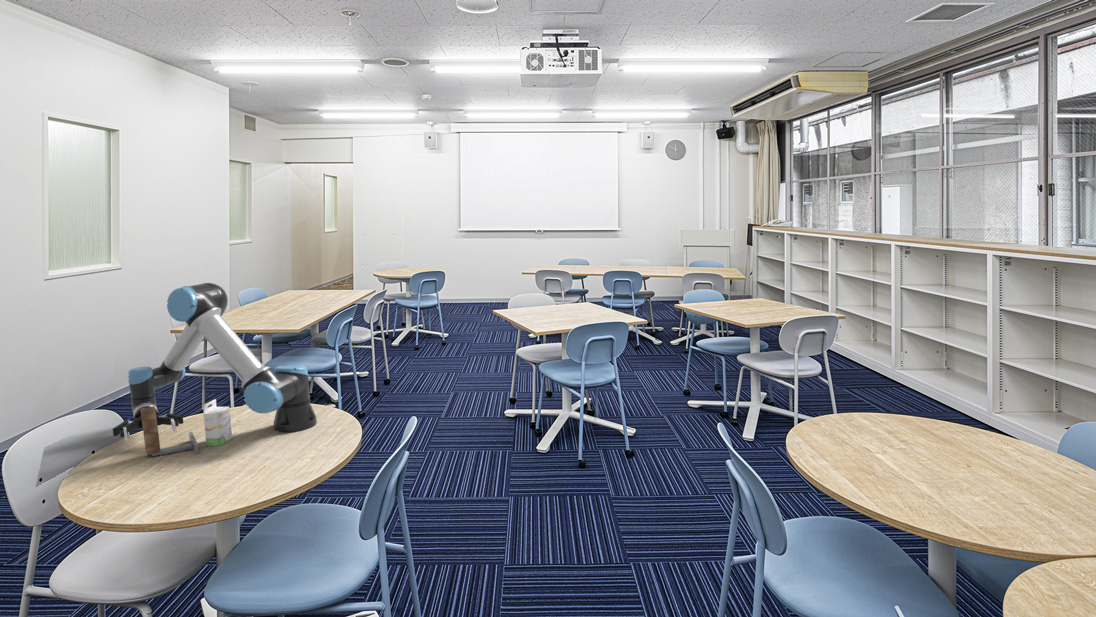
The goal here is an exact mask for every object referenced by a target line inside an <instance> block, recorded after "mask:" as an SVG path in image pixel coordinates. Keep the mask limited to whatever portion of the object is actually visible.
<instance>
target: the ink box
mask: <svg viewBox="0 0 1096 617" xmlns="http://www.w3.org/2000/svg"><path fill="white" fill-rule="evenodd" d="M230 410H231V409H230V406H217V399H216V398H215V399H213V400H211V401H209V402H207V403H205V404H203V422H204V423H203V424H204V432H205V433H204V434H205V443H206V446H207V447H218V446H219V447H220V446H221V445H224V444H225V443H226V442H228V441H230V440H231V439H232V438H233V431H232V424H231V423H232V422H231V413H230Z"/></svg>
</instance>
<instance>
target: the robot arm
mask: <svg viewBox="0 0 1096 617" xmlns="http://www.w3.org/2000/svg"><path fill="white" fill-rule="evenodd" d="M166 301H167V304H166V308H167V312H168V314H169V316H170V317H171V318H172V319H173V320H175V321H178V322H181V323H186V325H185V326H184V329H183V330H182V331H181V332H180V335H179V336H178V338H177V339H176V341H175V343H174V345H172V348H171V349H170V350H169V352H168V353H167V355H166V356H165V358H164V360H163V362H161V364H160V365H159V366H158V367H155V368H153V367H151V366H139V367H134V368H133V367H132V368H131V369H130V370H128V374H127V375H128V384H129V385H128V386H129V391H130V392H129V393H130V398H131V399H130V401H131V411H132V412H131V413H133V420H128V419H124V420H123V422H121V423H119V424H118V425H116V426H115V427H112V434H113V437H116V436H119V438H124V441H129V438H128V433H131V432H132V431H135V430H140V429H143V425H142V417H141V409H142V408H148V407H154V406H155V409H156V417H157V426H158V427H159V426H162V425H163V426H164V425H165V426H167V425H168V426H171V428H172V432H177V427H179V425H183V424H184V416H183V415H179V414H173V413H171V412H168V411H167V412H165V414H163V415H161V414H160V413H159V410H158V406H157V400H156V390H157V389H159V388H160V389H161V388H162V387H165V386H168V385H171V384H175V383H177V382H179V381H181V380H182V379H184V378H185V376H186V368H185V367H186V366H187V364H188V363H189V361H190V360H191V358H192V357H193V356H194V354H195V353H196V351H197V349H198V347H199V346H200V344H201V343H202V342H203V340H204V339H205V340H206V341H207V342H208V343H209V344H210V346H211V347H212V348H213V349H214V350H215V351H216V353H218V354H217V355H219V356H220V357H221V358H222V360H223V361H224V362H225V363H226V364H227V365H228V367H229V368H230V369H231V370H232V371H233V373H235V375H236V376H237V377H238V378H239V379H240V380H241V382H242V383H241V389H242V390H243V397H244V398H243V399H244V403H245V405H246V406H247V407H248V408H249V409H250V410H251V411H253V412H255V413H257V414H268V413H269V414H270V413H272V412H275V411H276V412H275V415H274V419H273V429H274V430H275V431H277V432H284V433H285V432H298V431H299V432H300V431H303V430H308V429H310V428H312V427H314V426H315V425H316V424H317V423H318V420H317V416H316V414H315V411H314V409H313V407H312V404H311V395H310V382H309V381H310V380H309V373H308V372H309V371H308V367H307V366H305V365H301V364H300V365H297V364H295V365H292V364H291V365H290V364H289V365H280V366H279V365H278V366H276V367H274V368H272V367H271V366H266V365H264V364H263V363H261V361H260V360H259V359H258V357H257V356H255V354H254V353H253V351H252V350H251V349H250V348H249V347H248V346H247V345H246V344H245V342H244V341H243V340H242V339H241V338H240V336H238V334H237V333H236V332H235V330H233V329H232V327H231V325H229V323H228V322H227V321H226V320H225V319H224V318H223V317H222V316H223V315H224V313H225V311H226V309H227V306H228V302H229V299H228V295H227V293H226V291H225V289H224V288H223V287H221V286H220V285H218V284H216V283H211V282H206V283H205V282H204V283H200V284H194V285H189V286H188V285H183V286H182V287H178V288H175V289H174V290H172V291H171V292H170V293H169V295H168V297H167V300H166Z"/></svg>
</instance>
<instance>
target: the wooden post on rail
mask: <svg viewBox="0 0 1096 617" xmlns="http://www.w3.org/2000/svg"><path fill="white" fill-rule="evenodd" d="M141 417H142V425H143V428H142V431H143V438H144V439H143V441H144V446H145V453H146V456H150V455H151V457H152V456H155V457H157V456H156V455H160V456H163V455H162V454H164V455H168V453H169V454H173V452H174V453H177V452H178V453H179V452H184V451H187V450H194V453H195V454H199V453H200V451H199V444H198V442H197V439H196V437H195V435H194V432H193V431H189V432H188V439H189V442H187V443H180V444H177V445H173V446H168V447H162V448H161V443H160V435H159V434H160V433H159V426H157V417H156V409H155V406H154V407H148V408H142V409H141Z"/></svg>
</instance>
